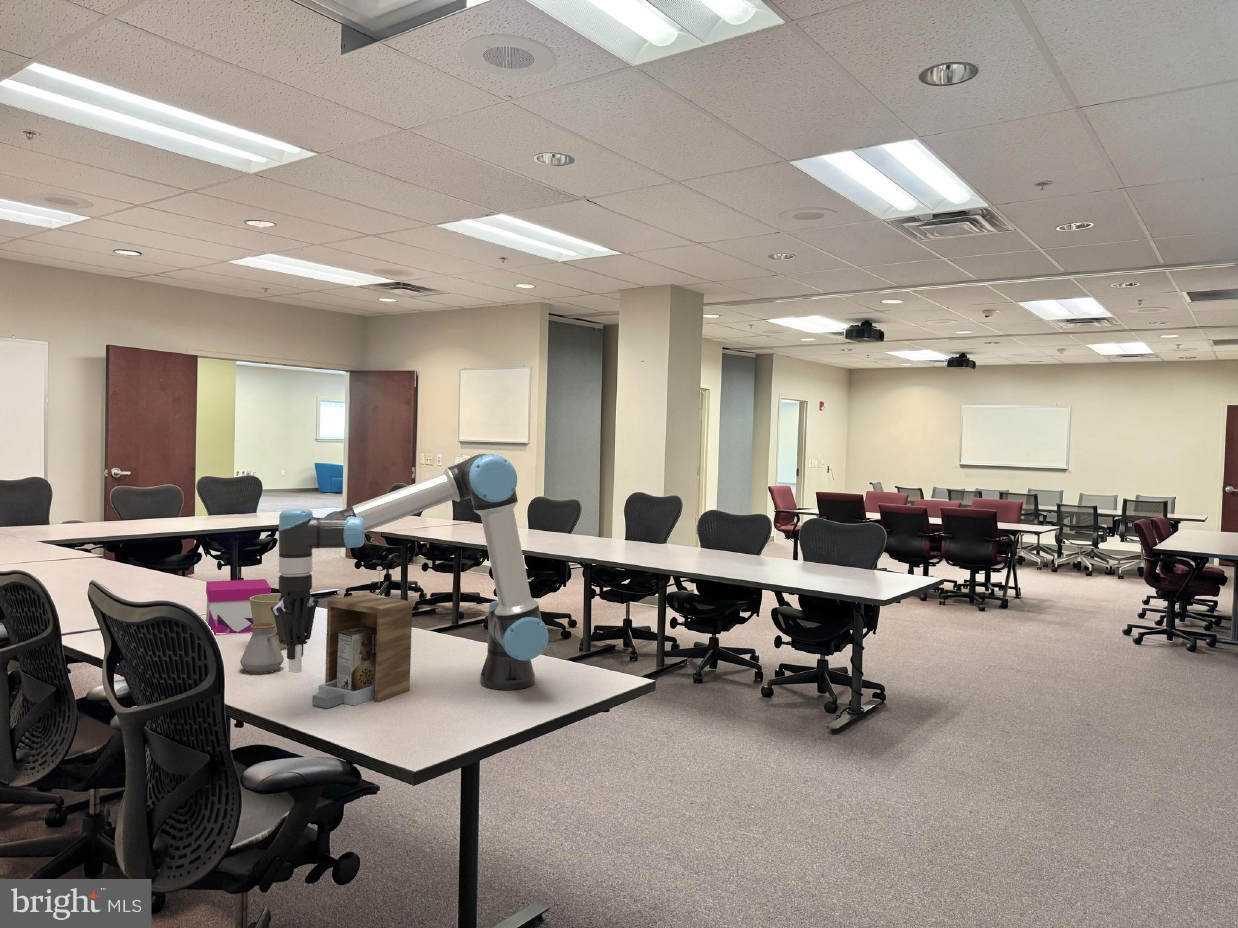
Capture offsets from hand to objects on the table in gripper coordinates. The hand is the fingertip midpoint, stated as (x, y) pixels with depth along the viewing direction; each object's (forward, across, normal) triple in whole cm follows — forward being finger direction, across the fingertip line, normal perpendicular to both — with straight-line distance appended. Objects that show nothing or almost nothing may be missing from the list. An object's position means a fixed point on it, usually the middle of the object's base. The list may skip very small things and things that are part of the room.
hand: (295, 671), depth 204 cm
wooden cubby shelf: (+10, -22, +2) cm, 25 cm away
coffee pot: (+10, -22, -32) cm, 40 cm away
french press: (+11, -66, -33) cm, 75 cm away
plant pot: (+10, -43, -54) cm, 69 cm away
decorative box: (+10, -56, -85) cm, 103 cm away
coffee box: (+10, -19, +2) cm, 21 cm away
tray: (+10, -16, +2) cm, 19 cm away
